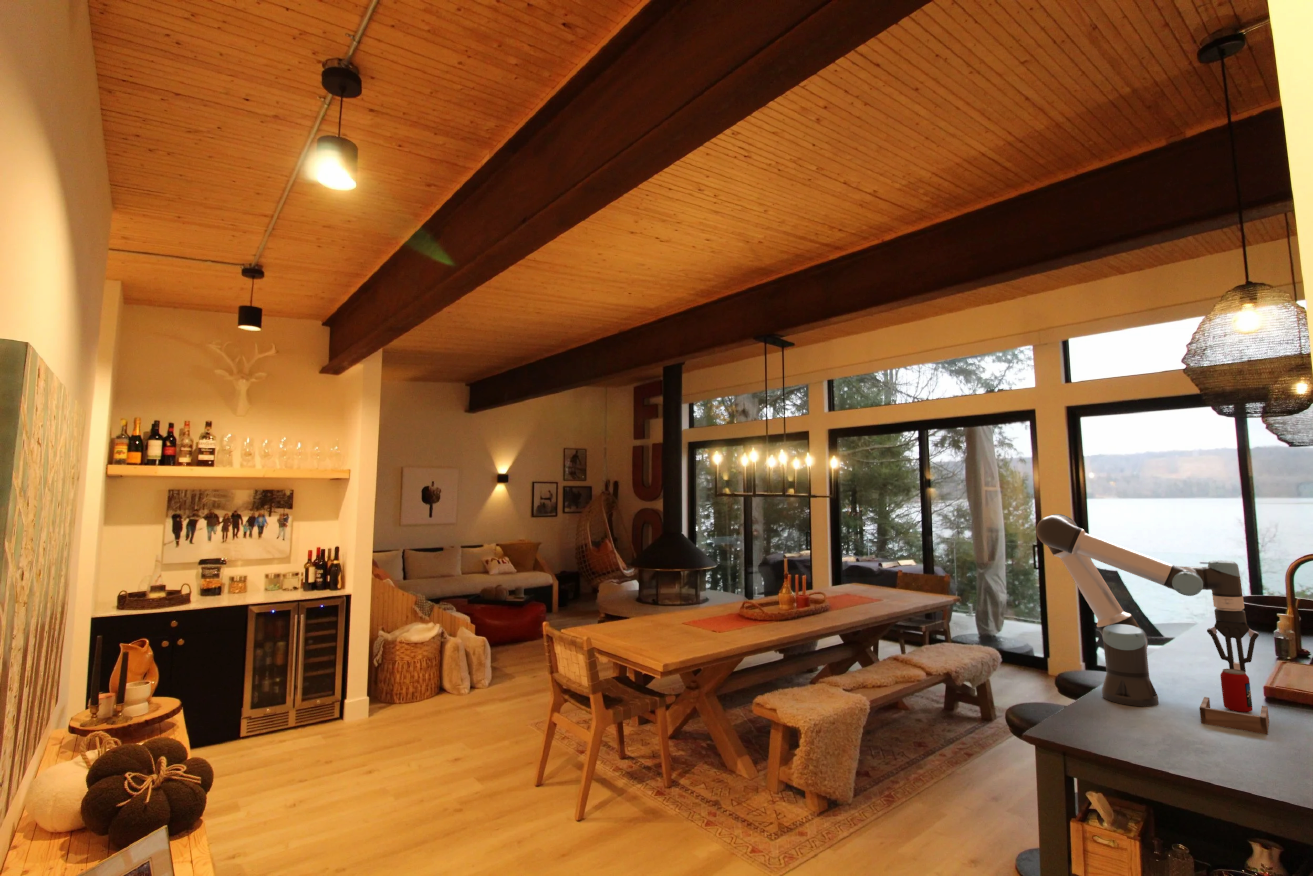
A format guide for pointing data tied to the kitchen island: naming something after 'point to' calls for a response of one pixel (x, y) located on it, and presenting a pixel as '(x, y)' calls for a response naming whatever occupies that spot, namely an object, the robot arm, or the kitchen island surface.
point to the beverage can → (1236, 690)
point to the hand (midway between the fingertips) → (1239, 683)
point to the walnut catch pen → (1234, 718)
